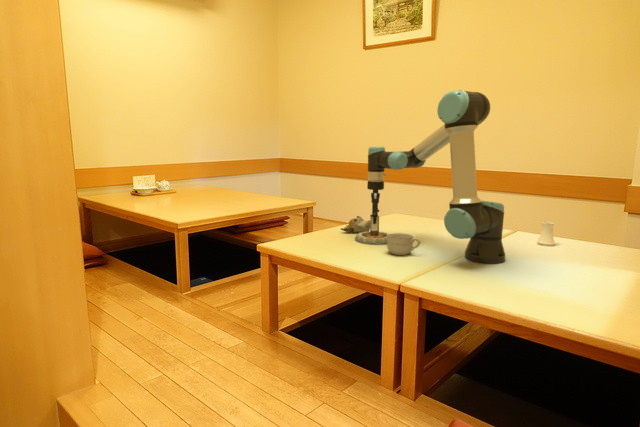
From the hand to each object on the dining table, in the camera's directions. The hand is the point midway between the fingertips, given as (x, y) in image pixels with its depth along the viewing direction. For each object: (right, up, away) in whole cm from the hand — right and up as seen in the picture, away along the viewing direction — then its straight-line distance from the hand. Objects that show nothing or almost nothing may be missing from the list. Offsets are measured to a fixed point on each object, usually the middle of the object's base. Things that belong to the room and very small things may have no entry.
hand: (374, 228), depth 204 cm
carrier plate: (0, -6, +1) cm, 6 cm away
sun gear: (0, -5, +1) cm, 5 cm away
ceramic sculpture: (-7, -3, +17) cm, 19 cm away
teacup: (+9, -10, -23) cm, 27 cm away
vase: (+77, -7, -6) cm, 77 cm away
